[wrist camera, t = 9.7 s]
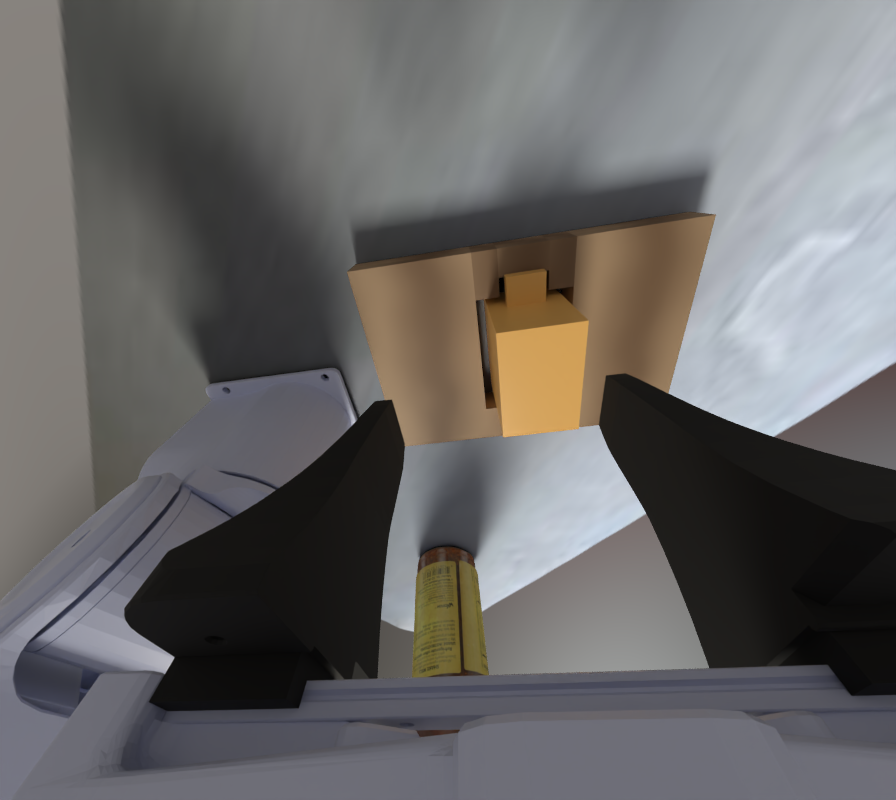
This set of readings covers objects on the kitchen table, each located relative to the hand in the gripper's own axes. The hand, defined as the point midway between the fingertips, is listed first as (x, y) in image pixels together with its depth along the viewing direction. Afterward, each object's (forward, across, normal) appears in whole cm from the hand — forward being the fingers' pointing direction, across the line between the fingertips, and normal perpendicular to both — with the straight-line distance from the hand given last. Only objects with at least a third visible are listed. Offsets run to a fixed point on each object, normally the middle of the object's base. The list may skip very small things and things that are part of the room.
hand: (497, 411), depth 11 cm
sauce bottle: (+10, +6, +26) cm, 29 cm away
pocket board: (+10, -2, +2) cm, 11 cm away
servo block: (+10, -2, +2) cm, 11 cm away
